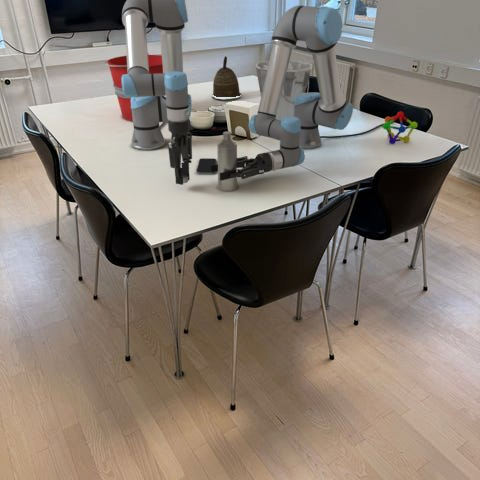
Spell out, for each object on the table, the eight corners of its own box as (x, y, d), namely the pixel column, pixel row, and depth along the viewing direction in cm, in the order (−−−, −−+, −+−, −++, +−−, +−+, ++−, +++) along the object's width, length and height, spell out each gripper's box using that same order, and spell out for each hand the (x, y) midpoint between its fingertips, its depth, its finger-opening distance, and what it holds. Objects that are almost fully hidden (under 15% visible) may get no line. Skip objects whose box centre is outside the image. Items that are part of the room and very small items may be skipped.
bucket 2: (281, 130, 226) (284, 73, 211) (242, 117, 244) (243, 64, 230) (319, 119, 242) (324, 65, 228) (280, 107, 261) (283, 57, 246)
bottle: (239, 189, 167) (240, 134, 155) (222, 192, 164) (221, 136, 153) (232, 182, 172) (232, 128, 161) (215, 185, 170) (214, 130, 158)
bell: (227, 105, 294) (202, 96, 282) (238, 66, 289) (213, 55, 277) (243, 108, 280) (217, 98, 268) (255, 66, 275) (229, 55, 263)
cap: (190, 180, 166) (189, 175, 165) (184, 184, 163) (183, 178, 162) (181, 178, 168) (181, 173, 167) (175, 182, 165) (175, 176, 164)
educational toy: (377, 146, 209) (379, 114, 202) (384, 138, 219) (386, 107, 211) (411, 149, 202) (415, 116, 195) (417, 141, 212) (420, 109, 204)
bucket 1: (121, 106, 263) (114, 51, 247) (180, 106, 262) (176, 52, 246) (104, 123, 233) (95, 63, 217) (170, 124, 232) (166, 64, 216)
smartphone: (196, 172, 178) (199, 158, 191) (196, 173, 178) (199, 159, 191) (214, 172, 178) (216, 158, 191) (214, 174, 178) (216, 159, 191)
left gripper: (174, 127, 146) (179, 192, 158) (200, 114, 159) (202, 175, 171) (155, 124, 148) (161, 188, 161) (182, 112, 161) (186, 171, 174)
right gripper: (282, 180, 167) (228, 192, 157) (254, 162, 181) (204, 172, 172) (283, 161, 163) (227, 173, 153) (255, 144, 177) (203, 154, 168)
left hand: (182, 181), depth 166 cm, fingers closed on cap, 4 cm apart
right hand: (215, 173), depth 163 cm, fingers closed on bottle, 7 cm apart
